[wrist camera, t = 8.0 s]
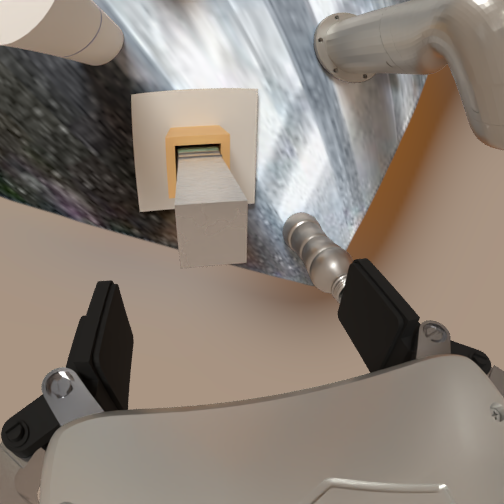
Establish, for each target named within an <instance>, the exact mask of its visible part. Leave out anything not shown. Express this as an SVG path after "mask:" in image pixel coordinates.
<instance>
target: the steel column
mask: <svg viewBox="0 0 504 504" xmlns="http://www.w3.org/2000/svg"><path fill="white" fill-rule="evenodd" d="M247 212H248V200H247V198H246V197H245V195H244V193H243V192H242V190H241V188H240V187H239V185H238V183H237V182H236V180H235V178H234V177H233V175H232V173H231V172H230V170H229V168H228V167H227V165H226V163H225V162H224V160H223V158H222V154H220V151H219V148H218V146H216V147H215V145H214V144H197V145H181V146H180V149H178V170H177V181H176V194H175V216H176V227H177V238H178V248H179V257H180V266H181V268H191V267H204V266H215V265H226V264H237V263H247Z"/></svg>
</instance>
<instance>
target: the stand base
mask: <svg viewBox="0 0 504 504" xmlns="http://www.w3.org/2000/svg"><path fill="white" fill-rule="evenodd" d="M257 104H258V89H241V88H217V89H188V90H172V91H160V92H150V93H141V94H133V95H131V109H132V131H133V147H134V160H135V171H136V182H137V191H138V200H139V208H140V212H144V211H155V210H167V209H175V194H176V181H177V170H178V149H180V146H181V145H197V144H214V145H215V147H216V146H218V148H219V151H220V154H222V158H223V160H224V162H225V163H226V165H227V167H228V168H229V170H230V172H231V173H232V175H233V177H234V178H235V180H236V182H237V183H238V185H239V187H240V188H241V190H242V192H243V193H244V195H245V197H246V198H247V200H248V204H255V171H256V137H257Z"/></svg>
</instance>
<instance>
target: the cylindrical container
mask: <svg viewBox="0 0 504 504" xmlns="http://www.w3.org/2000/svg"><path fill="white" fill-rule="evenodd" d="M123 40H124V37H123V33H122V30H121V29H120V28H119V26H118V25H117V24H116V23H115V22H114V21H113V20H112V19H111V18H110V17H109V16H108V15H107V14H106V13H105V12H104V11H102V10H101V9H100V8H99V7H98V6H97V5H96V4H95V3H94V2H93V1H92V0H0V45H3V46H10V47H15V48H21V49H26V50H31V51H36V52H41V53H45V54H50V55H54V56H58V57H62V58H66V59H70V60H74V61H78V62H81V63H85V64H89V65H93V66H98V65H103V64H105V63H108V62H109V61H111V60H112V59H113V58H115V57H116V56H117V54H118V53H119V52H120V50H121V48H122V45H123Z"/></svg>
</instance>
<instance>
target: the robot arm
mask: <svg viewBox="0 0 504 504" xmlns="http://www.w3.org/2000/svg"><path fill="white" fill-rule="evenodd" d="M335 18H336V19H335ZM318 40H319V41H320V42H319V41H318ZM314 49H315V52H316V55H317V58H318V59H319V61H320V63H321V64H322V66H323V67H324V68H325V69H326V70H327V71H328V72H329V73H330V74H331V75H333V76H334V77H335V78H338V79H340V80H342V81H346V82H353V83H357V82H363V81H366V80H369V79H371V78H372V77H373V76H374V75H375V74H376V73H387V74H415V75H416V74H417V75H428V74H432V73H435V72H437V71H439V70H441V69H442V68H443V67H444V66H446V64H448V65H449V67H450V70H451V72H452V75H453V77H454V79H455V82H456V84H457V88H458V90H459V94H460V96H461V100H462V103H463V106H464V109H465V112H466V116H467V119H468V122H469V125H470V127H471V129H472V131H473V133H474V134H475V136H476V137H477V138H478V139H479V140H480V141H481V142H482V143H484V144H485V145H487V146H490V147H492V148H496V149H500V150H504V0H411V1H408V2H404V3H400V4H396V5H392V6H388V7H384V8H381V9H377V10H374V11H370V12H367V13H364V14H361V15H357V16H356V15H354V14H350V13H336V14H332V15H330V16H328V17H326V18H325V19H323V20H322V21H321V22H320V23H319V25H318V26H317V28H316V31H315V34H314ZM333 69H334V71H333ZM338 318H339V320H340V322H341V324H342V325H343V327H344V328H345V330H346V332H347V334H348V335H349V337H350V339H351V340H352V342H353V344H354V345H355V347H356V349H357V350H358V352H359V354H360V355H361V357H362V359H363V361H364V362H365V364H366V366H367V368H368V369H369V371H370V373H369V374H365V375H362V376H358V377H354V378H350V379H347V380H343V381H339V382H335V383H331V384H327V385H322V386H318V387H314V388H309V389H304V390H299V391H294V392H290V393H284V394H278V395H273V396H267V397H261V398H255V399H248V400H241V401H233V402H225V403H217V404H208V405H197V406H185V407H172V408H155V409H134V410H128V396H129V383H130V370H131V361H132V351H133V334H132V331H131V327H130V324H129V321H128V318H127V315H126V311H125V308H124V304H123V301H122V297H121V294H120V290H119V287H118V284H114V283H113V281H99V282H98V283H97V285H96V288H95V291H94V293H93V296H92V299H91V302H90V305H89V308H88V311H87V314H86V316H82V317H81V319H80V321H79V324H78V327H77V331H76V333H75V337H74V340H73V343H72V347H71V350H70V354H69V357H68V361H67V365H66V368H57V369H54V370H52V371H51V372H49V373H48V374H47V375H46V377H45V378H44V380H43V382H42V392H43V395H41V396H40V397H39V398H37V399H36V400H35V401H33V402H32V403H30V404H29V405H28V406H26V407H25V408H23V409H22V410H21V411H19V412H18V413H17V414H15V415H14V416H13V417H11V418H10V419H9V420H7V421H6V422H5V424H4V426H3V428H2V432H1V438H2V442H1V444H0V504H504V371H502V370H501V369H499V368H498V367H496V366H495V365H494V366H493V368H492V367H491V362H490V360H489V358H488V357H487V356H486V354H484V353H483V352H481V351H479V350H476V349H474V348H471V347H468V346H465V345H462V344H459V343H456V342H454V341H451V340H450V333H449V331H448V330H447V329H446V327H445V326H443V325H442V324H440V323H438V322H436V321H425V322H423V323H422V324H420V323H419V322H418V321H419V318H420V317H419V316H418V315H417V314H416V313H415V311H414V310H413V309H412V308H411V307H410V305H409V304H408V303H407V302H406V301H405V300H404V299H403V297H402V296H401V295H400V294H399V293H398V292H397V291H396V289H395V288H394V287H393V286H392V285H391V284H390V283H389V282H388V280H387V279H386V278H385V277H384V276H383V275H382V274H381V273H380V272H379V270H377V268H376V267H375V266H374V265H373V264H372V263H371V262H370V261H369V260H368V259H366V258H365V259H356V260H354V261H353V262H352V263H351V264H350V265H349V269H348V273H347V277H346V282H345V286H344V290H343V294H342V298H341V302H340V306H339V310H338ZM39 487H40V503H39V501H38V498H37V492H38V489H39Z"/></svg>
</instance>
